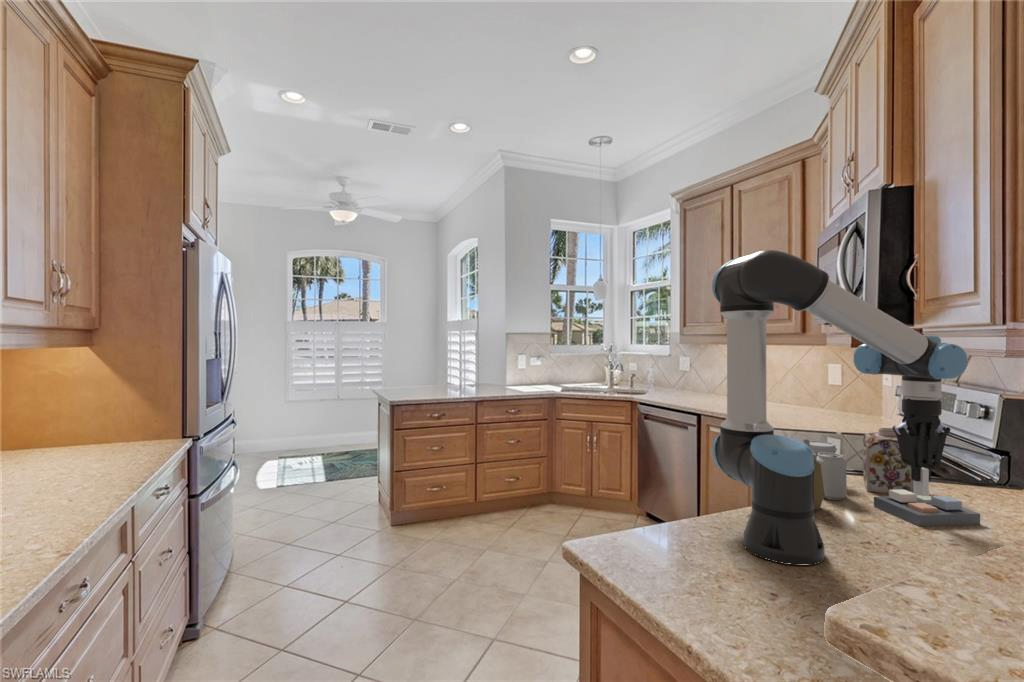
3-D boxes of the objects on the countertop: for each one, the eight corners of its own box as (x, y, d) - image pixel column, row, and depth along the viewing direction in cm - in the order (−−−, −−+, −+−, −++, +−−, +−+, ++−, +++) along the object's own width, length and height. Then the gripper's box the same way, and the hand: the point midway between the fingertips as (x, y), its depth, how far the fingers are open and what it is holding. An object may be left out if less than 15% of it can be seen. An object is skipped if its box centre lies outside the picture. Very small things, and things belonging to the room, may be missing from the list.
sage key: (924, 512, 125) (924, 499, 125) (911, 507, 129) (911, 495, 129) (939, 511, 126) (939, 499, 126) (926, 506, 130) (926, 494, 130)
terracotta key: (922, 521, 119) (921, 508, 119) (908, 515, 123) (908, 503, 123) (938, 521, 119) (937, 508, 119) (923, 515, 123) (923, 502, 123)
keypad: (919, 526, 117) (918, 515, 117) (873, 506, 131) (873, 496, 131) (980, 524, 118) (980, 513, 118) (928, 505, 132) (928, 495, 132)
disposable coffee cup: (837, 480, 156) (836, 442, 156) (837, 488, 148) (837, 447, 148) (802, 476, 161) (801, 439, 161) (800, 483, 153) (800, 444, 153)
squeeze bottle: (783, 501, 136) (782, 436, 136) (813, 501, 136) (812, 436, 136) (800, 512, 128) (799, 442, 128) (831, 512, 127) (830, 442, 127)
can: (851, 501, 136) (851, 457, 136) (821, 499, 137) (821, 456, 137) (839, 493, 143) (839, 451, 143) (811, 491, 144) (810, 450, 144)
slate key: (946, 514, 119) (945, 501, 119) (931, 508, 123) (931, 496, 123) (962, 514, 120) (961, 501, 120) (946, 508, 124) (946, 496, 124)
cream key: (901, 506, 125) (901, 494, 125) (889, 501, 129) (888, 489, 129) (916, 506, 125) (916, 494, 125) (903, 501, 129) (903, 489, 129)
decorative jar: (917, 498, 138) (916, 433, 138) (866, 491, 144) (865, 430, 144) (910, 487, 148) (910, 427, 148) (863, 481, 154) (862, 423, 154)
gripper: (908, 400, 117) (907, 499, 117) (961, 400, 118) (960, 498, 118) (883, 396, 125) (883, 489, 125) (933, 396, 125) (933, 489, 125)
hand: (920, 494), depth 121 cm, fingers closed
